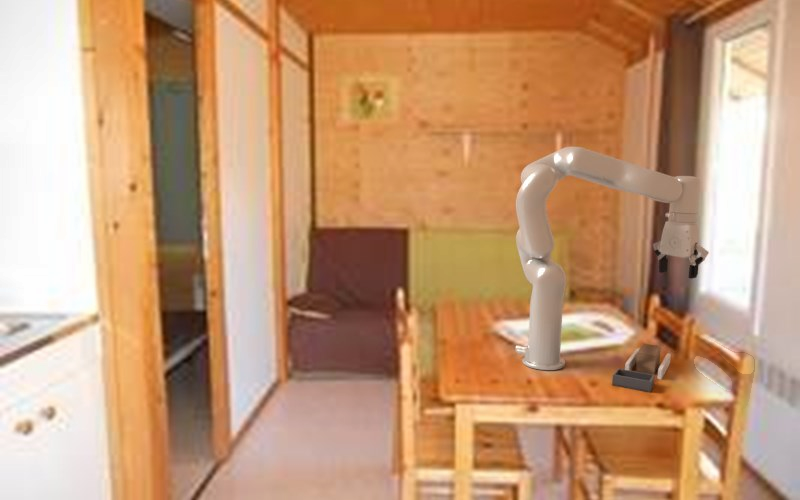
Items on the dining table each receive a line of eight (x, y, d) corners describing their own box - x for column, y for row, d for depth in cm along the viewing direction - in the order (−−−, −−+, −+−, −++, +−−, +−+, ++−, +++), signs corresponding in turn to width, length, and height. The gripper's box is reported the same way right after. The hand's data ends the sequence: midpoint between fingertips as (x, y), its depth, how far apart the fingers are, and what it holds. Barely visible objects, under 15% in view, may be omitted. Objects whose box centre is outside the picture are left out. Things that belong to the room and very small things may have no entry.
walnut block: (635, 372, 192) (637, 352, 191) (641, 362, 201) (643, 343, 200) (653, 375, 190) (655, 355, 189) (659, 365, 199) (660, 346, 198)
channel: (624, 373, 191) (625, 363, 191) (635, 357, 205) (636, 348, 204) (661, 379, 186) (661, 369, 186) (669, 363, 200) (670, 353, 199)
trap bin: (612, 385, 182) (612, 374, 181) (616, 378, 187) (617, 368, 186) (650, 392, 177) (650, 381, 176) (654, 385, 182) (654, 374, 182)
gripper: (648, 215, 199) (644, 271, 202) (703, 222, 185) (697, 281, 188) (663, 214, 203) (659, 268, 206) (717, 220, 189) (711, 278, 192)
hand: (677, 274), depth 197 cm, fingers open, 9 cm apart
